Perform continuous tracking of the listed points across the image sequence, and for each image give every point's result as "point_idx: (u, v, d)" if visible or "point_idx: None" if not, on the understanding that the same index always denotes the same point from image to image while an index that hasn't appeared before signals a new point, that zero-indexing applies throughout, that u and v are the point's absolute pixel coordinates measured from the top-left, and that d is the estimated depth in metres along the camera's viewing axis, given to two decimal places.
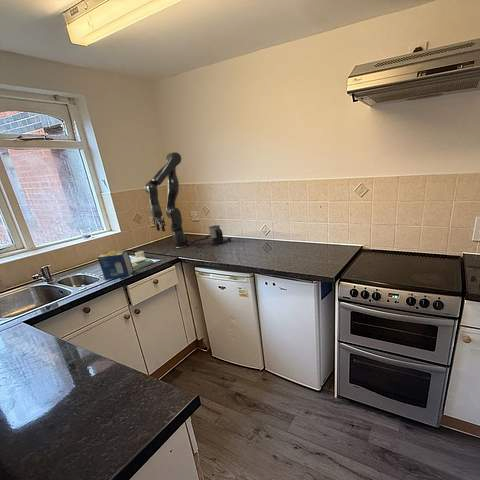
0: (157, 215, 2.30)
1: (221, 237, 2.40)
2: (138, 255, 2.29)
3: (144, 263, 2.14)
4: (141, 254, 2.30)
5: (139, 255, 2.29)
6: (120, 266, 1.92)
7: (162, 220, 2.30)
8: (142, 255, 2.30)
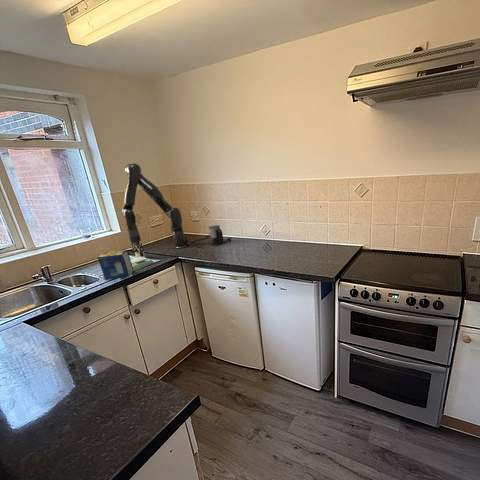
0: (135, 240, 2.24)
1: (221, 237, 2.40)
2: (138, 255, 2.29)
3: (144, 263, 2.14)
4: None
5: (139, 255, 2.29)
6: (120, 266, 1.92)
7: (140, 245, 2.24)
8: None
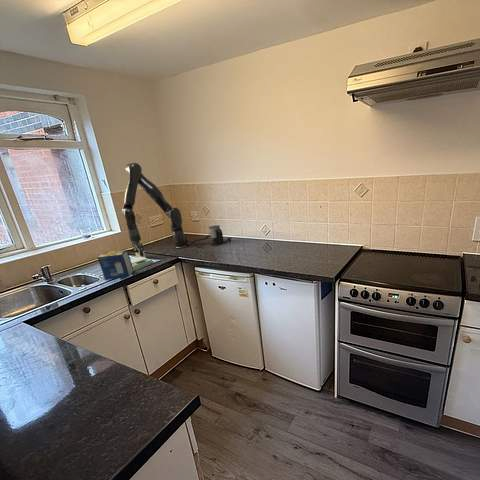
0: (135, 240, 2.23)
1: (221, 237, 2.40)
2: (138, 255, 2.28)
3: (144, 263, 2.14)
4: None
5: (139, 255, 2.29)
6: (120, 266, 1.92)
7: (140, 245, 2.24)
8: None
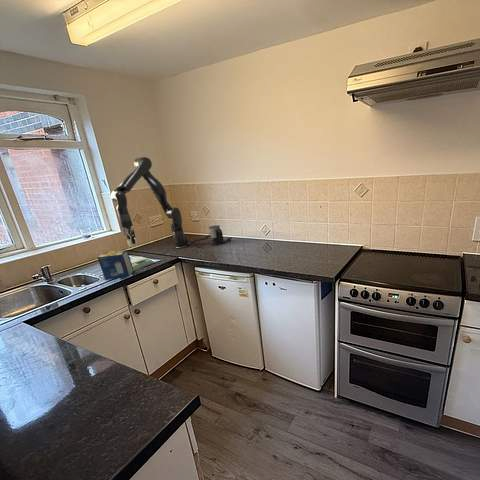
0: (126, 225, 2.09)
1: (221, 237, 2.40)
2: (130, 242, 2.14)
3: (144, 263, 2.14)
4: None
5: (131, 242, 2.14)
6: (120, 266, 1.92)
7: (132, 232, 2.09)
8: None
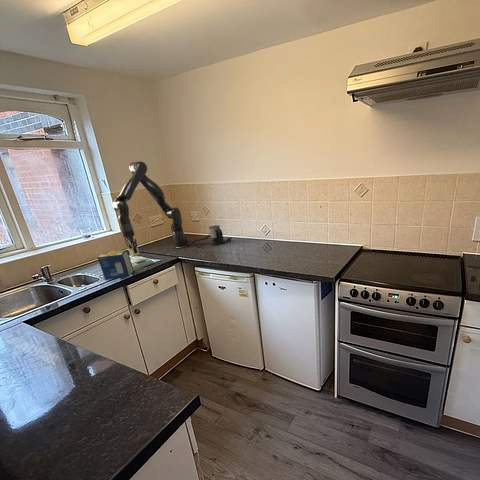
0: (128, 235, 2.09)
1: (221, 237, 2.40)
2: (132, 252, 2.14)
3: (144, 263, 2.14)
4: None
5: (133, 252, 2.14)
6: (120, 266, 1.92)
7: (134, 241, 2.09)
8: None
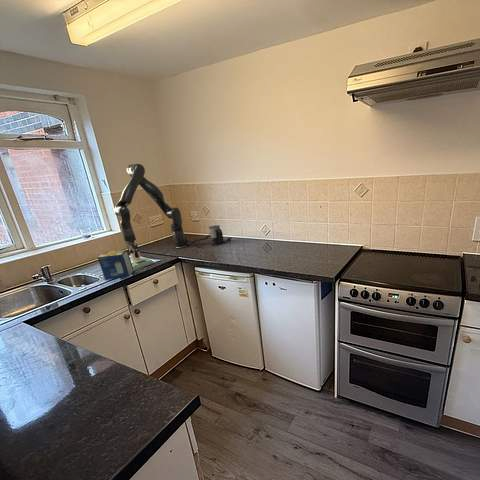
0: (129, 240, 2.10)
1: (221, 237, 2.40)
2: (133, 256, 2.15)
3: (144, 263, 2.14)
4: None
5: (134, 256, 2.15)
6: (120, 266, 1.92)
7: (135, 246, 2.10)
8: None
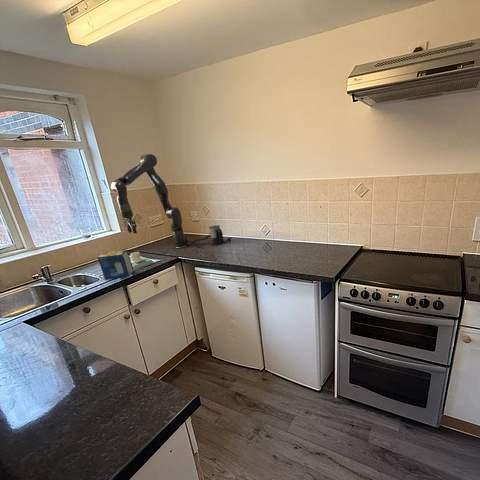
0: (127, 216, 2.09)
1: (221, 237, 2.40)
2: (133, 256, 2.15)
3: (144, 263, 2.14)
4: (137, 255, 2.16)
5: (134, 256, 2.15)
6: (120, 266, 1.92)
7: (132, 221, 2.09)
8: (138, 256, 2.17)
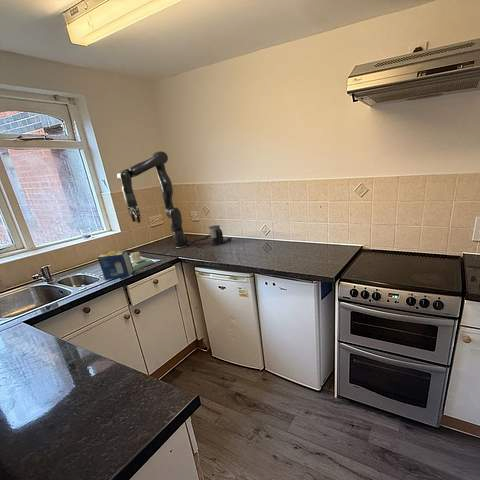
0: (131, 205, 2.17)
1: (221, 237, 2.40)
2: (133, 256, 2.15)
3: (144, 263, 2.14)
4: (137, 255, 2.16)
5: (134, 256, 2.15)
6: (120, 266, 1.92)
7: (137, 210, 2.17)
8: (138, 256, 2.17)
